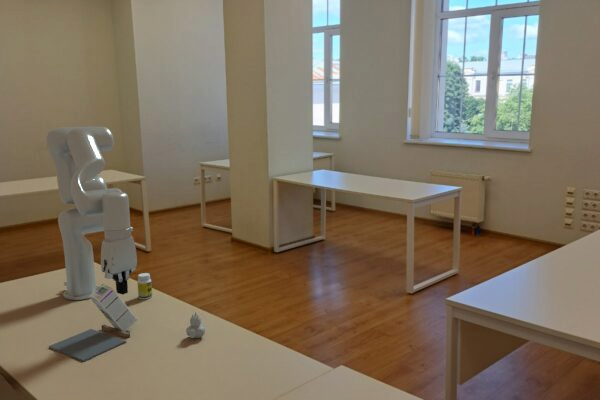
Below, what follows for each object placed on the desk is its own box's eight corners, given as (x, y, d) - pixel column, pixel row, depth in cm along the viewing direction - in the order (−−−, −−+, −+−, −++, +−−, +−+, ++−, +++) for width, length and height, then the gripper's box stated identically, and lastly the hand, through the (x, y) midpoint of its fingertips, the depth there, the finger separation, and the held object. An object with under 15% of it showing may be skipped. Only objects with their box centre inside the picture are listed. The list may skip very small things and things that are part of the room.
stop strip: (101, 329, 169) (101, 325, 169) (104, 328, 170) (104, 324, 169) (127, 338, 162) (127, 334, 162) (130, 336, 163) (130, 333, 163)
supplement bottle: (150, 299, 193) (148, 276, 191) (136, 299, 193) (135, 277, 191) (154, 295, 198) (152, 272, 196) (140, 295, 198) (139, 272, 196)
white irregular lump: (208, 334, 164) (207, 308, 163) (199, 343, 158) (198, 317, 156) (191, 332, 166) (190, 307, 164) (182, 342, 159) (180, 316, 158)
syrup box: (138, 319, 169) (112, 286, 161) (123, 333, 165) (97, 300, 158) (128, 314, 172) (103, 282, 165) (113, 328, 169) (87, 296, 162)
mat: (48, 347, 157) (48, 346, 156) (91, 330, 168) (91, 328, 168) (83, 362, 148) (83, 360, 148) (126, 342, 159) (125, 340, 159)
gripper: (129, 227, 171) (133, 283, 175) (88, 237, 159) (93, 298, 162) (146, 230, 167) (150, 288, 171) (104, 241, 155) (109, 303, 158)
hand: (122, 292), depth 166 cm, fingers closed
